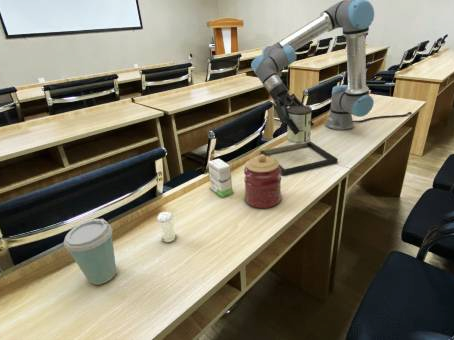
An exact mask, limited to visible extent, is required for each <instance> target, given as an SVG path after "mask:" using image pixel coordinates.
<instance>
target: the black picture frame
mask: <svg viewBox="0 0 454 340" xmlns="http://www.w3.org/2000/svg"><path fill="white" fill-rule="evenodd" d="M308 147H309V148H310V149H312V150H314V151H315V152H316V153H318V154H320V155H321V156H322V157H324V158H325V159H324V160H319V161H314V162H310V163H305V164H302V165H297V166H293V167H289V168H284V167H282V165H280V164H279V167H280V168H281V173H280V176H288V175H291V174H297V173H301V172H305V171H309V170H313V169H318V168H322V167H326V166H330V165H334V164H338V161H339V159H338V158H337V157H335V156H334V155H332V154H331V153H329V152H328V151H326V150H325V149H323V148H321V147H320V146H318V145H317V144H316V143H314V142H312V141H311V140H310V141H309V142H307V143H304V144H294V143H292V144H288V145H283V146H278V147H273V148H269V149H268V148H267V149H264V150H260V151H259V152H260V154H259V155H261V154H263V155H265V156H269V157H271V155H274V154H278V153H283V152H287V151H293V150H298V149H302V148H308Z"/></svg>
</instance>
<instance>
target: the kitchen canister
mask: <svg viewBox="0 0 454 340" xmlns="http://www.w3.org/2000/svg"><path fill="white" fill-rule="evenodd" d="M269 156H270V155H269ZM269 156H265V155H263V154H261V155H260V154H259V155H258V156H254V157H252V158H250V159H248V160H247V161H246V163H245V167H244V168H243V174H244V175H245V176H244V179H243V181H244V188H245V189H244V191H245V192H244V198H245V201H246V203H247V204H248V205H250V206H251V207H253V208H258V209H268V208H273V207H274V206H276V205H278V203H280V201H281V198H282V191H281V189H282V187H281V184H282V183H281V182H282V175H281V174H280V173H281V168H280V167H279V165H280V163H279V161H278V160H277V159H276V158H273V157H272V156H270V157H269Z"/></svg>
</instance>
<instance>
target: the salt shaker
mask: <svg viewBox="0 0 454 340" xmlns="http://www.w3.org/2000/svg"><path fill="white" fill-rule="evenodd" d="M153 217H154V218H156V221H157V223H158V226H159V229H160V232H161V234H162V237H163V241H164V242H165V243H172V242H174V241H175V239H176V233H175V223H174V222H175V221H174V214H173V213H172V212H170V211H161V212H160V213H158V215H157V217H155V215H153Z"/></svg>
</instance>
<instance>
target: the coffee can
mask: <svg viewBox="0 0 454 340" xmlns="http://www.w3.org/2000/svg"><path fill="white" fill-rule="evenodd" d="M287 110H288V114H289V120H290V119H292V121H293V122H294V123H295V125H296V126H297V128H298V129H299V131H300V132H299V133H297V134H296V135H295V134H294V133H293V131H292V130H291V128H289V126H288V125H287V136H286V137H287V138H286V139H287V142H289V143H291V144H304V143H307V142H309V141H310V142H311V129H312V128H311V127H312V126H311V121H312V110H313V109H312V107H311V106H307V105H304V106H292V107H289V106H288V107H287Z"/></svg>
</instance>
